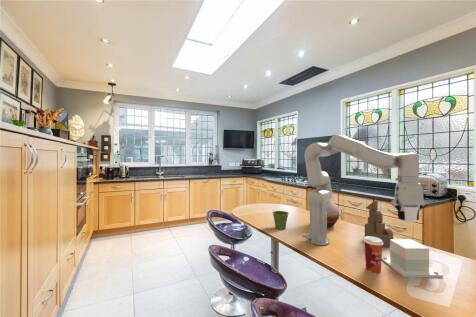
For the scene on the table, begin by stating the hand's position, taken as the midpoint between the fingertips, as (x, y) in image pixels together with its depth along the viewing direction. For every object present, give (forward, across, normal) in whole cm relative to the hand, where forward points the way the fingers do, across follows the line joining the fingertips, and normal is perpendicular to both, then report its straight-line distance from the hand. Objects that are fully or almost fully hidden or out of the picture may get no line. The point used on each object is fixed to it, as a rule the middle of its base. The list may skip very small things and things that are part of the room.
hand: (408, 218), depth 98 cm
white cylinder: (+1, 0, 0) cm, 1 cm away
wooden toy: (+23, +4, +30) cm, 38 cm away
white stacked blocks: (+22, 0, 0) cm, 22 cm away
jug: (+23, -16, +60) cm, 66 cm away
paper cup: (+23, -17, -2) cm, 28 cm away
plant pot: (+23, -50, +54) cm, 77 cm away
